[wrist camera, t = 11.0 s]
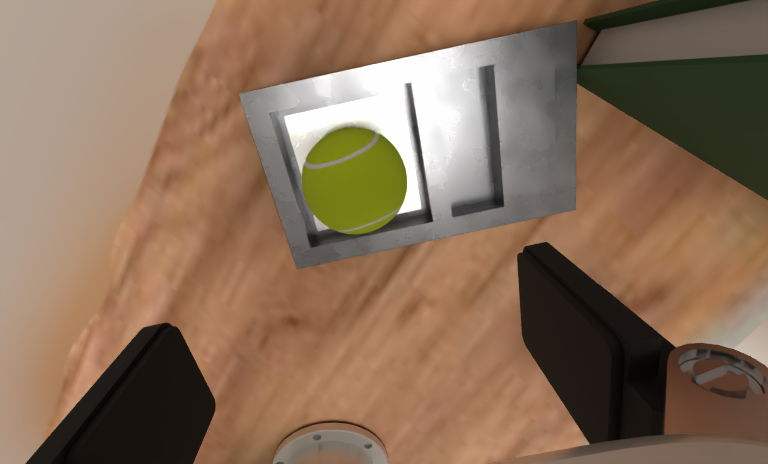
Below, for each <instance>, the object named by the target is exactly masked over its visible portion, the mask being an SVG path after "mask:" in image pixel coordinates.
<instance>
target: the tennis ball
mask: <svg viewBox="0 0 768 464" xmlns="http://www.w3.org/2000/svg"><path fill="white" fill-rule="evenodd" d="M301 180H302V190H303V195H304V198H305V201H306V203H307V205H308V207H309V208H310V210H311V211H312V213H313V214H314V215H315V217H316V218H317V219H318V220H319V221H321V222H322V223H323V224H324V225H326V226H327V227H329V228H331V229H333V230H335V231H338V232H340V233H345V234H364V233H368V232H372V231H374V230H377V229H379V228H381V227H383V226H384V225H385V224H387V223H388V222H389V221H391V220H392V219H393V218H394V217H395V215H396V214H397V213H398V212H399V210H400V209H401V206H402V205H403V203H404V200H405V197H406V193H407V185H408V181H407V171H406V167H405V164H404V161H403V159H402V157H401V155H400V153H399V152H398V150H397V149H396V147H395V146H394V145H393V144H392V143H391V142H390V141H389V140H388V139H387V138H385V137H384V136H383V135H381V134H379V133H378V134H377V133H375V131H373V130H369V129H365V128H356V127H353V128H344V129H340V130H337V131H334V132H332V133H330V134H328V135H326V136H325V137H323V138H322V139H321V140H319V141H318V142H317V143H316V144H315V145H314V146H313V148H312V149H311V150H310V152H309V153H308V155H307V157H306V161H305V162H304V164H303V169H302V176H301Z"/></svg>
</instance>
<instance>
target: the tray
mask: <svg viewBox="0 0 768 464" xmlns="http://www.w3.org/2000/svg"><path fill="white" fill-rule="evenodd" d="M239 97H240V100H241V103H242V106H243V109H244V112H245V115H246V118H247V121H248V124H249V127H250V130H251V132H252V135H253V138H254V141H255V144H256V147H257V150H258V153H259V156H260V159H261V162H262V165H263V168H264V171H265V174H266V177H267V180H268V183H269V186H270V189H271V192H272V195H273V198H274V201H275V204H276V207H277V210H278V213H279V216H280V219H281V222H282V225H283V228H284V231H285V234H286V237H287V240H288V243H289V246H290V249H291V252H292V255H293V258H294V261H295V264H296V267H297V269H300V268H305V267H310V266H314V265H319V264H324V263H329V262H333V261H338V260H343V259H347V258H352V257H357V256H361V255H366V254H371V253H375V252H380V251H385V250H389V249H394V248H399V247H404V246H408V245H413V244H418V243H422V242H427V241H432V240H436V239H441V238H446V237H450V236H455V235H460V234H464V233H469V232H474V231H479V230H483V229H488V228H493V227H497V226H502V225H507V224H511V223H516V222H521V221H525V220H530V219H535V218H539V217H544V216H549V215H554V214H558V213H563V212H568V211H572V210H576V99H577V20H576V21H571V22H567V23H562V24H558V25H553V26H548V27H544V28H539V29H535V30H530V31H525V32H521V33H516V34H512V35H507V36H502V37H498V38H493V39H489V40H484V41H479V42H475V43H470V44H465V45H461V46H456V47H452V48H447V49H442V50H438V51H433V52H429V53H424V54H419V55H415V56H410V57H406V58H401V59H396V60H392V61H387V62H383V63H378V64H373V65H369V66H364V67H360V68H355V69H350V70H346V71H341V72H336V73H332V74H327V75H323V76H318V77H313V78H309V79H304V80H300V81H295V82H290V83H286V84H281V85H277V86H272V87H267V88H263V89H258V90H254V91H249V92H244V93H240V94H239ZM353 127H356V128H365V129H369V130H373V131H375V133H377V134H378V133H379V134H381V135H383V136H384V137H385V138H387V139H388V140H389V141H390V142H391V143H392V144H393V145H394V146H395V147H396V149H397V150H398V152H399V153H400V155H401V157H402V159H403V161H404V164H405V167H406V171H407V181H408V185H407V193H406V197H405V200H404V203H403V205H402V206H401V209H400V210H399V212H398V213H397V214H396V215H395V217H394V218H393V219H392V220H391V221H389V222H388V223H387V224H385V225H384V226H383V227H381V228H379V229H377V230H374V231H372V232H368V233H364V234H345V233H340V232H338V231H335V230H333V229H331V228H329V227H327V226H326V225H324V224H323V223H322V222H321V221H319V220H318V219H317V218H316V217H315V215H314V214H313V213H312V211H311V210H310V208H309V207H308V205H307V203H306V201H305V198H304V195H303V190H302V180H301V176H302V169H303V164H304V162H305V161H306V157H307V155H308V153H309V152H310V150H311V149H312V148H313V146H314V145H315V144H316V143H317V142H318V141H319V140H321V139H322V138H323V137H325V136H326V135H328V134H330V133H332V132H334V131H337V130H340V129H344V128H353Z"/></svg>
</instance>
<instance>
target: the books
mask: <svg viewBox="0 0 768 464" xmlns="http://www.w3.org/2000/svg"><path fill="white" fill-rule="evenodd" d="M583 24H584V25H586V26H588V27H590V28H591V29H593V30H595V31H597V32H598V33H600V34H599V35H598V37H597V39H596V41H595V42H594V44H593V46H592V47H591V49H590V51H589V52H588V54H587V56H586V58H585V59H584V61H583V63H582V64H581V66H577V84H579V85H581V86H582V87H584V88H585V89H587V90H589V91H590V92H592V93H594V94H595V95H597V96H598V97H600V98H602V99H603V100H605V101H607V102H608V103H610V104H612V105H613V106H615V107H616V108H618V109H620V110H621V111H623V112H625V113H626V114H628V115H629V116H631V117H633V118H634V119H636V120H638V121H639V122H641V123H643V124H644V125H646V126H647V127H649V128H651V129H652V130H654V131H656V132H657V133H659V134H660V135H662V136H664V137H665V138H667V139H669V140H670V141H672V142H674V143H675V144H677V145H678V146H680V147H682V148H683V149H685V150H687V151H688V152H690V153H692V154H693V155H695V156H696V157H698V158H700V159H701V160H703V161H705V162H706V163H708V164H709V165H711V166H713V167H714V168H716V169H718V170H719V171H721V172H723V173H724V174H726V175H727V176H729V177H731V178H732V179H734V180H736V181H737V182H739V183H740V184H742V185H744V186H745V187H747V188H749V189H750V190H752V191H754V192H755V193H757V194H758V195H760V196H762V197H763V198H765V199H767V200H768V0H659V1H655V2H651V3H647V4H643V5H639V6H636V7H632V8H628V9H624V10H620V11H616V12H612V13H609V14H605V15H601V16H597V17H593V18H589V19H585V21H584V23H583Z"/></svg>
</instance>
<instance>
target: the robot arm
mask: <svg viewBox="0 0 768 464" xmlns="http://www.w3.org/2000/svg"><path fill="white" fill-rule="evenodd" d="M517 262H518V278H519V294H520V310H521V326H522V336H523V340H524V343H525V345H526V347H527V349H528V350H529V352H530V353H531V355H532V356H533V358H534V359H535V361H536V362H537V364H538V365H539V367H540V368H541V370H542V372H543V373H544V375H545V376H546V378H547V379H548V381H549V382H550V384H551V385H552V387H553V388H554V390H555V391H556V393H557V395H558V396H559V398H560V399H561V401H562V402H563V404H564V405H565V407H566V408H567V410H568V411H569V413H570V414H571V416H572V417H573V419H574V421H575V422H576V424H577V425H578V427H579V428H580V430H581V431H582V433H583V434H584V436H585V437H586V439H587V440H588V442H589V445H584V446H578V447H573V448H568V449H562V450H557V451H551V452H546V453H541V454H535V455H530V456H524V457H519V458H514V459H509V460H504V461H499V462H494V463H489V464H768V368H767V367H766V366H765V365H763V364H762V363H760V362H759V361H757V360H756V359H754V358H752V357H751V356H748V355H746V354H744V353H741V352H739V351H737V350H734V349H730V348H727V347H723V346H719V345H713V344H705V343H694V344H686V345H682V346H679V347H677V348H676V347H675V346H674V345H672V344H671V343H670V342H669V341H667V340H666V339H665V338H664V337H663V336H661V335H660V334H659V333H658V332H657V331H655V330H654V329H653V328H652V327H650V326H649V325H648V324H647V323H646V322H644V321H643V320H642V319H641V318H640V317H638V316H637V315H636V314H635V313H633V312H632V311H631V310H630V309H629V308H627V307H626V306H625V305H624V304H622V303H621V302H620V301H619V300H618V299H616V298H615V297H614V296H613V295H612V294H610V293H609V292H608V291H607V290H605V289H604V288H603V287H602V286H600V285H599V284H597V283H596V282H595V281H594V280H593V279H591V278H590V277H589V276H588V275H587V274H585V273H584V272H583V271H582V270H581V269H579V268H578V267H577V266H576V265H574V264H573V263H572V262H571V261H570V260H568V259H567V258H566V257H565V256H564V255H562V254H561V253H560V252H559V251H557V250H556V249H555V248H554V247H553V246H551V245H550V244H549V243H547V242H544V243H539V244H534V245H530V246H525V247H524V249H523V252H522V253H519V254H518V256H517ZM214 413H215V399H214V397H213V395H212V393H211V391H210V389H209V387H208V385H207V383H206V381H205V379H204V377H203V375H202V373H201V371H200V369H199V367H198V365H197V363H196V361H195V359H194V357H193V355H192V353H191V352H190V350H189V348H188V346H187V344H186V342H185V340H184V338H183V336H182V334H181V332H180V330H179V329H178V328H177V327H175V326H174V327H173V326H172V325H171V324H169V323H162V324H157V325H153V326H148V327H144V328H143V329H141V330H140V331H139V333H138V334H137V335H136V336H135V337H134V338H133V339H132V341H131V342H130V343H129V344H128V345H127V346H126V348H125V349H124V350H123V351H122V352H121V353H120V355H119V356H118V357H117V358H116V359H115V360H114V362H113V363H112V364H111V365H110V366H109V367H108V368H107V370H106V371H105V372H104V373H103V374H102V375H101V377H100V378H99V379H98V380H97V381H96V382H95V384H94V385H93V386H92V387H91V388H90V389H89V391H88V392H87V393H86V394H85V395H84V396H83V398H82V399H81V400H80V401H79V402H78V403H77V404H76V406H75V407H74V408H73V409H72V410H71V411H70V413H69V414H68V415H67V416H66V417H65V418H64V420H63V421H62V422H61V423H60V424H59V425H58V427H57V428H56V429H55V430H54V431H53V432H52V433H51V435H50V436H49V437H48V438H47V439H46V440H45V442H44V443H43V444H42V445H41V446H40V447H39V449H38V450H37V451H36V452H35V453H34V455H33V456H32V457H31V458H30V459H29V460H28V461H27V463H26V464H193V463H194V460H195V458H196V456H197V453H198V451H199V448H200V446H201V444H202V441H203V439H204V437H205V434H206V432H207V429H208V427H209V425H210V422H211V420H212V418H213V415H214ZM272 464H388V456H387V453H386V449H385V447H384V446H383V444H382V442H381V441H380V440H379V439H378V438H377V437H376V436H375V435H373V434H372V433H370V432H369V431H367V430H365V429H362V428H360V427H358V426H354V425H350V424H345V423H322V424H316V425H312V426H309V427H306V428H303V429H301V430H299V431H297V432H295V433H293V434H291V435H290V436H289V437H287V438H286V439H285V440H284V441H283V442H282V443H281V444H280V445H279V447H278V449H277V451H276V452H275V455H274V459H273V463H272Z"/></svg>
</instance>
